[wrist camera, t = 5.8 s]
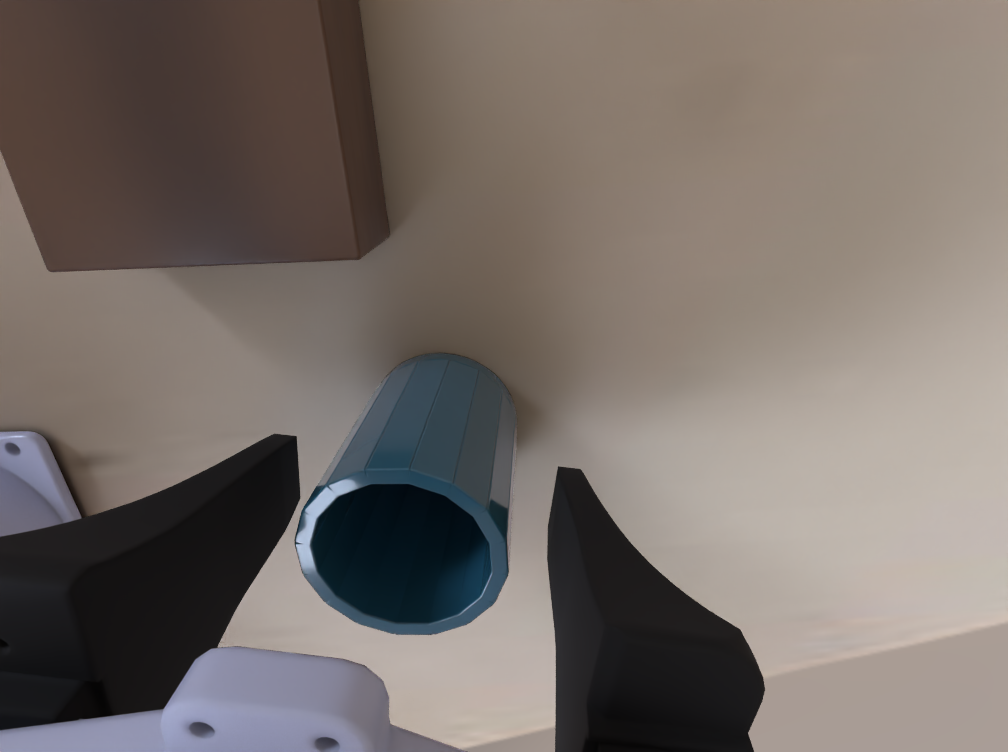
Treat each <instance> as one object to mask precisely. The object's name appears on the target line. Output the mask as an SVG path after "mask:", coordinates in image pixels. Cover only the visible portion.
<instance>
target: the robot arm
mask: <svg viewBox="0 0 1008 752" xmlns="http://www.w3.org/2000/svg"><path fill="white" fill-rule="evenodd" d="M299 500H300V483H299V467H298V451H297V436H290V435H281V434H273V435H271V436H269V437H267V438H265V439H263V440H261V441H259V442H257V443H255V444H253V445H252V446H250V447H248V448H246V449H244V450H242V451H241V452H239V453H237V454H235V455H233V456H231V457H230V458H228V459H226V460H224V461H222V462H220V463H219V464H217V465H215V466H213V467H211V468H209V469H207V470H205V471H203V472H201V473H199V474H197V475H195V476H193V477H191V478H189V479H187V480H185V481H182V482H180V483H178V484H176V485H174V486H172V487H169V488H167V489H165V490H162V491H160V492H158V493H155V494H153V495H150V496H147V497H145V498H142V499H140V500H137V501H134V502H132V503H129V504H126V505H123V506H120V507H117V508H113V509H110V510H107V511H104V512H101V513H98V514H95V515H92V516H88V517H85V518H82V517H81V515H80V513H79V511H78V508H77V506H76V504H75V502H74V500H73V497H72V495H71V493H70V491H69V488H68V486H67V484H66V482H65V480H64V477H63V475H62V473H61V471H60V469H59V466H58V464H57V462H56V460H55V457H54V455H53V453H52V451H51V449H50V446H49V444H48V442H47V441H46V439H45V438H44V437H43V436H41V435H40V434H38V433H36V432H31V431H16V432H0V752H467V751H464V750H461V749H458V748H455V747H453V746H450V745H447V744H444V743H441V742H439V741H436V740H433V739H430V738H427V737H425V736H422V735H419V734H416V733H413V732H411V731H408V730H405V729H402V728H399V727H397V726H394V725H391V724H390V719H389V696H388V693H387V690H386V688H385V685H384V682H383V681H382V679H381V678H380V677H378V676H377V675H376V674H375V673H373V672H372V671H371V670H370V669H368V668H367V667H366V666H365V665H362V664H358V663H355V662H352V661H348V660H345V659H340V658H332V657H323V656H315V655H306V654H298V653H290V652H281V651H273V650H264V649H256V648H247V647H239V646H235V647H222V648H217V646H218V644H219V642H220V640H221V638H222V636H223V634H224V632H225V630H226V628H227V626H228V624H229V622H230V620H231V618H232V616H233V614H234V612H235V610H236V609H237V607H238V605H239V603H240V602H241V600H242V598H243V596H244V595H245V593H246V592H247V590H248V589H249V587H250V585H251V584H252V582H253V581H254V579H255V578H256V576H257V574H258V573H259V571H260V570H261V568H262V567H263V565H264V564H265V562H266V560H267V559H268V557H269V556H270V554H271V553H272V551H273V549H274V548H275V546H276V545H277V543H278V541H279V540H280V538H281V537H282V535H283V533H284V532H285V530H286V528H287V526H288V524H289V522H290V520H291V518H292V516H293V513H294V511H295V509H296V507H297V504H298V502H299ZM547 560H548V571H549V581H550V590H551V600H552V609H553V619H554V628H555V643H556V736H555V752H754V750H753V747H752V744H751V741H750V738H749V735H748V732H749V730H750V727H751V725H752V723H753V721H754V718H755V716H756V714H757V712H758V709H759V707H760V705H761V703H762V700H763V695H764V691H765V687H764V681H763V676H762V674H761V671H760V669H759V666H758V664H757V662H756V659H755V657H754V655H753V653H752V651H751V649H750V647H749V645H748V643H747V641H746V640H745V638H744V636H743V634H742V632H741V630H740V629H738V628H737V627H735V626H733V625H732V624H730V623H729V622H727V621H725V620H724V619H722V618H720V617H719V616H717V615H716V614H714V613H712V612H711V611H709V610H708V609H706V608H705V607H703V606H702V605H700V604H699V603H698V602H696V601H695V600H693V599H692V598H691V597H689V596H688V595H687V594H685V593H684V592H683V591H681V590H680V589H679V588H678V587H676V586H675V585H674V584H673V583H671V582H670V581H669V580H668V579H667V578H666V577H665V576H663V575H662V574H661V573H660V572H659V571H658V570H657V569H656V568H654V567H653V566H652V565H651V564H650V563H649V562H648V561H647V560H646V559H645V558H644V557H643V556H642V555H641V553H640V552H639V551H638V550H637V549H636V548H635V547H634V546H633V545H632V544H631V543H630V542H629V540H628V539H627V538H626V537H625V535H624V534H623V533H622V532H621V530H620V529H619V528H618V526H617V525H616V524H615V522H614V521H613V520H612V518H611V517H610V515H609V514H608V512H607V511H606V509H605V508H604V506H603V505H602V503H601V502H600V500H599V499H598V497H597V495H596V494H595V492H594V491H593V489H592V487H591V486H590V484H589V482H588V480H587V478H586V477H585V475H584V473H583V472H582V470H581V469H575V468H566V467H558V471H557V476H556V482H555V488H554V494H553V500H552V506H551V512H550V518H549V524H548V554H547Z"/></svg>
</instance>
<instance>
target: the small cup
mask: <svg viewBox="0 0 1008 752" xmlns="http://www.w3.org/2000/svg"><path fill="white" fill-rule="evenodd" d="M516 446H517V416H516V409H515V406H514V402H513V400H512V397H511V395H510V393H509V391H508V390H507V388H506V387H505V385H504V384H503V383H502V382H501V380H500V379H499V378H498V377H497V376H496V375H495V374H494V373H493V372H491V371H490V370H489V369H487V368H486V367H485V366H483V365H481V364H479V363H478V362H476V361H473V360H471V359H469V358H466V357H462V356H459V355H454V354H447V353H434V354H425V355H421V356H417V357H414V358H411V359H409V360H407V361H405V362H403V363H401V364H400V365H398V366H397V367H395V368H394V369H393V370H392V371H391V372H390V373H389V374H388V375H387V376H386V377H385V378H384V379H383V381H382V382H381V384H380V385H379V387H378V388H377V389H376V390H375V391H374V393H373V395H372V396H371V398H370V399H369V401H368V403H367V404H366V406H365V408H364V409H363V411H362V413H361V414H360V416H359V418H358V419H357V421H356V422H355V424H354V426H353V427H352V429H351V431H350V432H349V434H348V436H347V437H346V439H345V440H344V442H343V444H342V445H341V447H340V449H339V450H338V452H337V454H336V455H335V457H334V459H333V460H332V462H331V463H330V465H329V467H328V468H327V470H326V472H325V473H324V475H323V477H322V478H321V480H320V481H319V483H318V485H317V486H316V488H315V490H314V491H313V493H312V495H311V496H310V498H309V500H308V501H307V503H306V504H305V506H304V508H303V510H302V512H301V516H300V520H299V524H298V528H297V532H296V536H295V547H296V551H297V555H298V558H299V562H300V566H301V570H302V573H303V574H304V577H305V578H306V579H307V581H308V582H309V583H310V584H311V586H312V587H313V588H314V590H315V591H316V592H317V593H318V595H319V596H320V597H321V598H322V600H323V601H324V602H326V604H328V605H329V606H331V607H332V608H334V609H335V610H337V611H338V612H340V613H342V614H343V615H345V616H346V617H348V618H349V619H351V620H352V621H354V622H356V623H358V624H360V625H364V626H367V627H371V628H374V629H377V630H381V631H384V632H388V633H391V634H396V635H432V634H438V633H441V632H444V631H448V630H451V629H454V628H457V627H461V626H464V625H467V624H468V623H470V622H472V621H473V620H474V619H475V618H477V617H478V616H479V615H480V614H482V613H483V612H484V611H485V610H487V609H488V608H489V607H491V606H492V605H493V604H494V603H495V602H496V600H497V598H498V596H499V593H500V591H501V589H502V587H503V585H504V583H505V581H506V579H507V577H508V573H509V562H510V545H511V529H512V512H513V496H514V479H515V463H516Z"/></svg>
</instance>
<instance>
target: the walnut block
mask: <svg viewBox="0 0 1008 752" xmlns="http://www.w3.org/2000/svg"><path fill="white" fill-rule="evenodd" d="M0 151H1V153H2V156H3V159H4V161H5V164H6V166H7V169H8V171H9V174H10V176H11V179H12V181H13V184H14V186H15V189H16V192H17V194H18V197H19V199H20V202H21V204H22V207H23V209H24V212H25V214H26V217H27V220H28V222H29V225H30V227H31V230H32V232H33V235H34V237H35V240H36V242H37V245H38V247H39V250H40V253H41V255H42V258H43V260H44V263H45V265H46V268H47V270H48V271H50V272H69V271H94V270H119V269H143V268H168V267H193V266H217V265H242V264H266V263H291V262H316V261H340V260H359V259H361V258H362V257H363V256H365V255H366V254H367V253H369V252H370V251H371V250H373V249H374V248H375V247H377V246H378V245H379V244H381V243H382V242H383V241H385V240H386V239H387V238H389V235H390V234H389V227H388V219H387V212H386V204H385V197H384V189H383V182H382V175H381V167H380V160H379V152H378V145H377V137H376V130H375V122H374V115H373V107H372V100H371V92H370V85H369V77H368V70H367V63H366V55H365V48H364V40H363V33H362V25H361V18H360V10H359V3H358V0H0Z"/></svg>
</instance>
